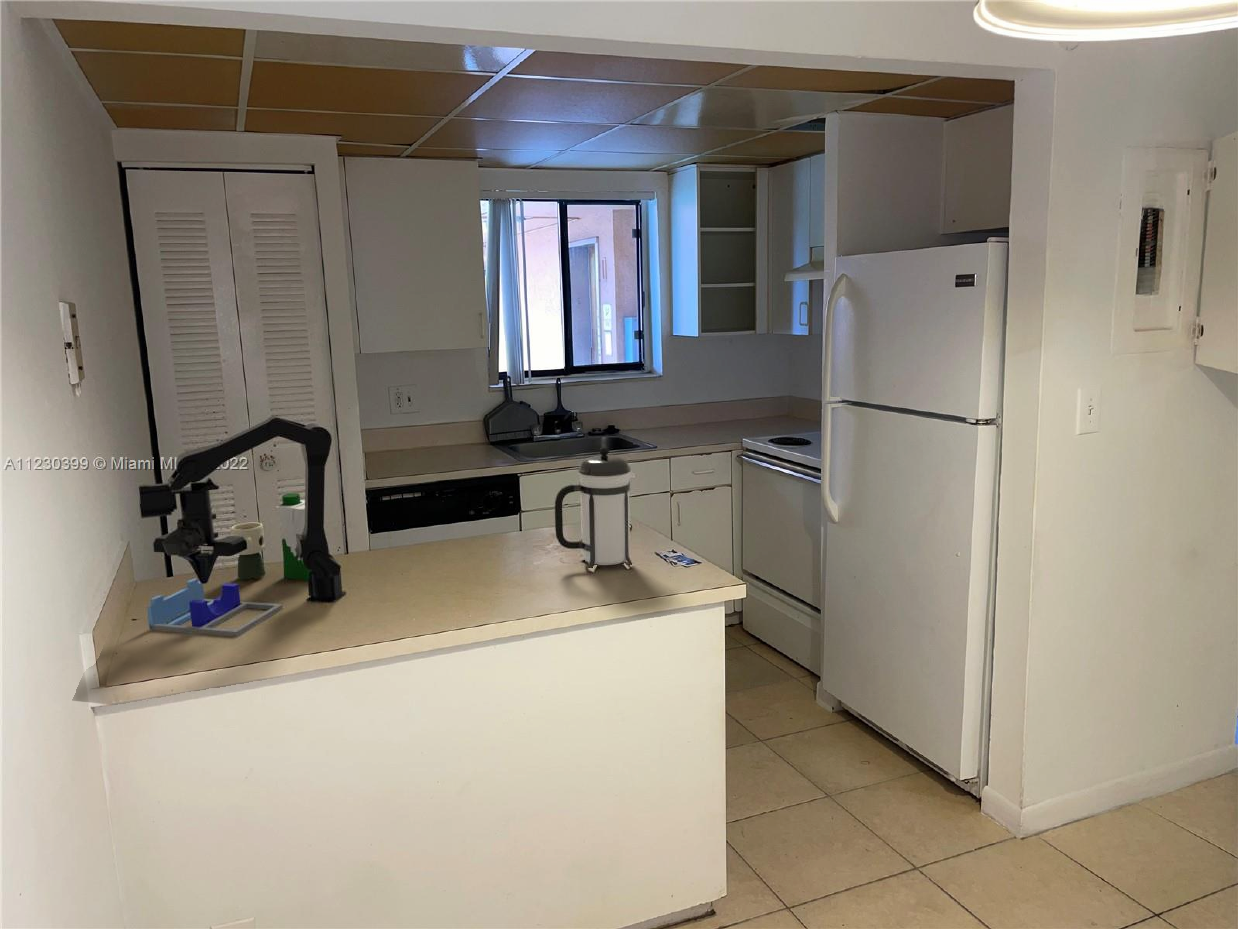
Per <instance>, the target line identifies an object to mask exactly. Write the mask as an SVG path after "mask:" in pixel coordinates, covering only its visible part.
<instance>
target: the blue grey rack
mask: <svg viewBox="0 0 1238 929" xmlns="http://www.w3.org/2000/svg"><path fill="white" fill-rule="evenodd" d="M204 592H205V591H204V584H201V582H200V581H199V579H198V578H191V579H190V580H187V581H186V587H185V588H183V589H180V590H178V591H177V592H175V593H173V594H171V595H168V596H166V597H165V598H164V595H163V594H162V595H159V594H158V595H156V596H154V597H152V598H150V605H148V606H147V605H146V612H147V619H148V620H147V621H148V627H149V630H150V631H160V630H166V631H165V632H173V633H174V632H177V633H186V634H199V635H200V634H202V635H213V636H214V635H215V636H227V637H239V636H240V635H242V634H244V633H245V632H247V631H249V630H250V629H252V628H253V627H255V626H256V625H259V624H261V623H262V622H263V621H265V620H267V619H268V618H270V617H271V616H274V615H275V614H277V613H278V612H280V611H282V610H283V609H284V608H283V604H281V603H270V602H269V603H268V602H267V603H265V602H256V601H255V602H254V601H253V602H252V601H242V600H240V604H241V605H239V606H238V607H236V608H234V609H232V610H231V611H229V612H227V613H225V614H223V615H222V616H220V617H218V618H216V619H214V620H213V621H211V622H209V623H207V624H206V625H204V626H202V627H194V626H192V625H191V626H190V625H182V623H183V624H185V623H187V622H188V621H190V620H191V613H190V611H189V610H190V605H189V602H191V601H193V600H205V601H207V604H208V607H209V608H210V606H211V605H212V603H213V601H214V600H215V599H213V598H212V599H210V598H209V599H208V598H205V593H204ZM244 609H245V610H247V609H256V610H266V611H264V612H263V613H261V614H259V615H258V616H256V617H255V618H252V619H251V620H250V621H248V622H246V623H244V624H243V625H241V626H239V627H237V628H235V629H229V628H215V627H217V626H219V625H221V624H222V623H224V622H226V621H228V620H229V619H231V618H233V617H235V616H236V615H238V614H240V613H241V611H242V612H243V611H245V610H244ZM268 609H269V610H268ZM188 611H189V612H188ZM184 613H185V614H184ZM237 613H238V614H237ZM182 614H183V615H182ZM178 616H179V617H178ZM177 617H178V618H177ZM175 618H176V619H175ZM172 619H174V620H172ZM189 619H190V620H189ZM227 619H228V620H227ZM171 620H172V621H171ZM169 621H170V623H169ZM167 622H168V623H167ZM164 623H166V624H164ZM180 624H181V625H180ZM213 627H214V628H213Z"/></svg>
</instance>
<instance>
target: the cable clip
mask: <svg viewBox="0 0 1238 929" xmlns="http://www.w3.org/2000/svg"><path fill="white" fill-rule="evenodd" d="M213 600H214V601H213V603H212V605H211V606H210V608H209V607H208V604H207V601H205V600H193V601H191V602H189V605H190V611H189V613H191V619H190V621H191V626H194V627H202V626H204V625H206V624H207V623H209V622H211V621H213V620H214V619H216V618H218V617H220V616H222V615H223V614H225V613H227V612H229V611H231V610H232V609H234V608H236V607H238V606H239V605H241V604H240V601H241V595H240V586H239V583H229V582H228V583H227V582H226V583H224V584H222V585H221V596H219V597H216V598H215V599H213Z"/></svg>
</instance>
